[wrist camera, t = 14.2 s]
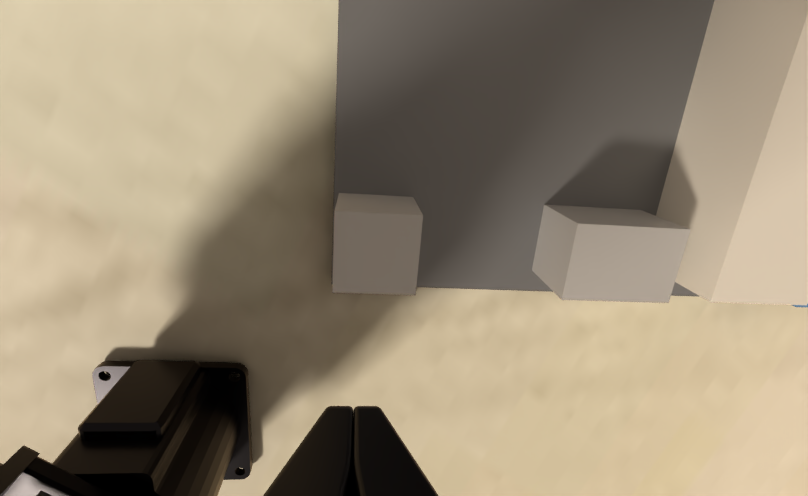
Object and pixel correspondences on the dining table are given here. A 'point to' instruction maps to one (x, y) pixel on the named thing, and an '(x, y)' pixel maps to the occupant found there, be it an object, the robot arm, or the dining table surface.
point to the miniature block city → (511, 145)
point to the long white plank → (745, 157)
